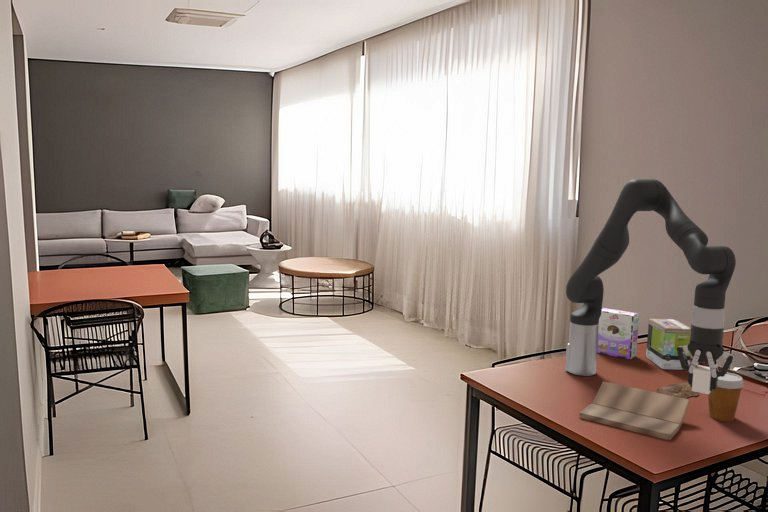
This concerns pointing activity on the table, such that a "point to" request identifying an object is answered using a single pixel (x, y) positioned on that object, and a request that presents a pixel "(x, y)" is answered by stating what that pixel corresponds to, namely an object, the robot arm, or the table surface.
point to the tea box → (667, 342)
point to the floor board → (630, 421)
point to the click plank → (642, 402)
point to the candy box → (618, 333)
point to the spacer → (701, 379)
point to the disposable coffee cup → (725, 397)
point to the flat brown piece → (678, 390)
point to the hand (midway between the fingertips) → (702, 388)
